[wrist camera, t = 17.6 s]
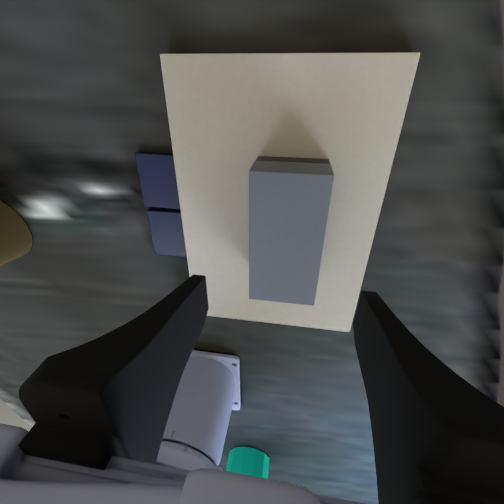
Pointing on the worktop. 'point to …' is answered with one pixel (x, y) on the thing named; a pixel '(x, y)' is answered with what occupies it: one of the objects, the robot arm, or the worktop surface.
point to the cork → (13, 235)
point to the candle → (248, 462)
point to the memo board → (283, 145)
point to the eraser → (287, 227)
